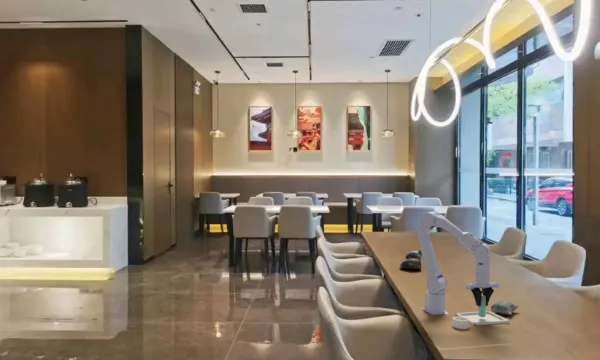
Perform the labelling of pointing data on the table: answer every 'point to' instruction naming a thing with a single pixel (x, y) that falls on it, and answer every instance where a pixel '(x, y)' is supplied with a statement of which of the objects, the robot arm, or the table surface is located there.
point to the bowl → (460, 322)
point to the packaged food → (503, 307)
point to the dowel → (482, 307)
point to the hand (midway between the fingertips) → (481, 305)
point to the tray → (483, 318)
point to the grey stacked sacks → (412, 260)
